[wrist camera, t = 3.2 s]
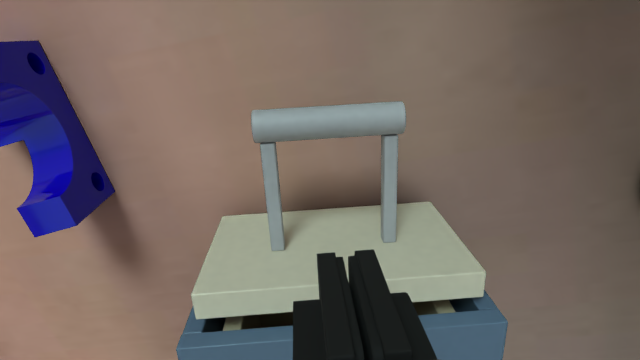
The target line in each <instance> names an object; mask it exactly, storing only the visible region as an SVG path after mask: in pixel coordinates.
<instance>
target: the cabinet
mask: <svg viewBox="0 0 640 360" xmlns="http://www.w3.org/2000/svg"><path fill="white" fill-rule="evenodd" d="M449 301H450V303H451V305H452V307H453V308H454V310H455V312H453V313H441V314H428V315H418V317H419V319H420V321H421V323H422V325H423V328H424V330H425V332H426V334H427V337H428V339H429V341H430V343H431V346H432V348H433V350H434V352H435V355H436V357H437V359H439V360H502V358H503V352H504V345H505V338H506V332H507V325H508V322H507V320H506V319H505V317H504V316H503V315H502V313H501V312H500V311H499V309H498V308H497V306H496V305H495V304H494V302H493V301H492V300H491V298H490V297H489V296H488V294H487V293H486V291H485V290H484V295H483V297H474V298H462V299H449ZM225 319H226V317H222V318H210V319H196V317H195V312H194V308H193V307H192V310H191V312H190V315H189V318H188V320H187V323H186V326H185V328H184V331H183V334H182V335H181V338H180V340H179V343H178V346H177V348H176V351H177V355H178V359H179V360H293V325H292V326H279V327H267V328H254V329H242V330H230V331H223V327H224V323H225Z"/></svg>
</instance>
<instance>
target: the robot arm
mask: <svg viewBox="0 0 640 360" xmlns="http://www.w3.org/2000/svg"><path fill="white" fill-rule="evenodd" d="M317 269H318V285H319V299H315V300H303V301H293V360H439V359H437V357H436V355H435V352H434V350H433V348H432V346H431V343H430V341H429V339H428V337H427V334H426V332H425V330H424V328H423V325H422V323H421V321H420V319H419V317H418V314H417V312H416V310H415V308H414V305H413V303H412V301H411V299H410V296H409V295H408V293H406V292H401V293H390V290H389V288H388V285H387V283H386V280H385V277H384V275H383V272H382V269H381V267H380V264H379V261H378V259H377V256H376V253H375V251H374V249H371V250H358V251H355V254H354V256H348V276H349V282H348V278H347V273H346V269H345V264H344V260H343V257H336V254H335V252H331V253H318V254H317Z"/></svg>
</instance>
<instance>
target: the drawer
mask: <svg viewBox="0 0 640 360" xmlns="http://www.w3.org/2000/svg"><path fill="white" fill-rule="evenodd" d="M251 125H252V134H253V139H254V142H255V143H261V144H260V150H261V159H262V168H263V177H264V187H265V196H266V205H267V213H261V214H247V215H233V216H223V217H222V219H221V221H220V224H219V226H218V229H217V231H216V234H215V236H214V239H213V241H212V244H211V246H210V249H209V251H208V254H207V256H206V259H205V261H204V264H203V266H202V269H201V271H200V274H199V276H198V279H197V281H196V284H195V286H194V289H193V291H192V294H191V298H192V303H193V308H194V312H195V317H196V319H210V318H222V317H226V319H225V323H224V327H223V331H230V330H242V329H254V328H267V327H279V326H292V325H293V301H303V300H315V299H319V285H318V269H317V254H318V253H331V252H335V254H336V257H343V260H344V264H345V269H346V273H347V278H348V282H349V276H348V256H354V254H355V251H358V250H371V249H374V251H375V253H376V256H377V259H378V261H379V264H380V267H381V269H382V272H383V275H384V277H385V280H386V283H387V285H388V288H389V290H390V293H401V292H406V293H408V295H409V296H410V299H411V301H412V303H413V305H414V308H415V310H416V312H417V314H418V315H428V314H441V313H453V312H455V310H454V308H453V307H452V305H451V303H450V301H449V299H462V298H474V297H483V295H484V286H485V278H486V271H485V270H484V269H483V267H482V266H481V265H480V264H479V262H478V261H477V260H476V259H475V257H474V256H473V255H472V254H471V252H470V251H469V250H468V249H467V247H466V246H465V245H464V243H463V242H462V241H461V240H460V238H459V237H458V236H457V235H456V233H455V232H454V231H453V230H452V228H451V227H450V226H449V225H448V223H447V222H446V221H445V220H444V218H443V217H442V216H441V214H440V213H439V212H438V211H437V209H436V208H435V207H434V206H433V204H432V203H431V202H418V203H404V204H397V172H398V135H397V134H402V133H404V131H405V127H406V111H405V106H404V104H403V102H401V101H397V102H381V103H364V104H348V105H331V106H315V107H298V108H282V109H266V110H253V111H252V114H251ZM374 135H381V205H375V206H361V207H347V208H332V209H318V210H304V211H290V212H282V205H281V194H280V184H279V173H278V162H277V152H276V142H280V141H296V140H311V139H327V138H343V137H358V136H374Z"/></svg>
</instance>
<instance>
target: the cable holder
mask: <svg viewBox="0 0 640 360" xmlns="http://www.w3.org/2000/svg"><path fill="white" fill-rule="evenodd" d="M22 140H24V142H25V144H26V146H27V148H28V150H29V153H30V156H31V159H32V164H33V174H34V176H33V185H32V189H31V191H30V194H29V196H28V197H27V199H26V200H25V202H24V203H23V204H22V205H21V206H19V207H18V208H17V209H18V211H19V213H20V214H21V216H22V217H23V219H24V221H25V222H26V224H27V225H28V227H29V229H30V230H31V232H32V234H33V235H34V237H38V236H41V235H45V234H49V233H52V232H56V231H59V230H63V229H66V228H70V227H73V226H77V225H78V224H79V223H80V222H81V221H82V220H84V219H85V218H86V217H87V216H88V215H89V214H90V213H91V212H93V211H94V210H95V209H96V208H97V207H98V206H99V205H100V204H102V203H103V202H104V201H105V200H106V199H107V198H108V197H110V196H111V195H112V194H113V193H114V192H115V190H114V188H113V186H112V184H111V182H110V180H109V178H108V176H107V174H106V173H105V171H104V169H103V167H102V165H101V163H100V161H99V159H98V157H97V155H96V153H95V151H94V149H93V147H92V145H91V143H90V141H89V139H88V137H87V135H86V133H85V131H84V129H83V127H82V125H81V124H80V122H79V120H78V118H77V116H76V114H75V112H74V110H73V108H72V106H71V104H70V102H69V100H68V98H67V96H66V94H65V92H64V90H63V88H62V86H61V84H60V82H59V80H58V78H57V76H56V75H55V73H54V71H53V69H52V67H51V65H50V63H49V61H48V59H47V57H46V55H45V53H44V51H43V49H42V47H41V45H40V43H39V41H15V42H0V147H1V146H4V145H8V144H11V143H15V142H18V141H22Z"/></svg>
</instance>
